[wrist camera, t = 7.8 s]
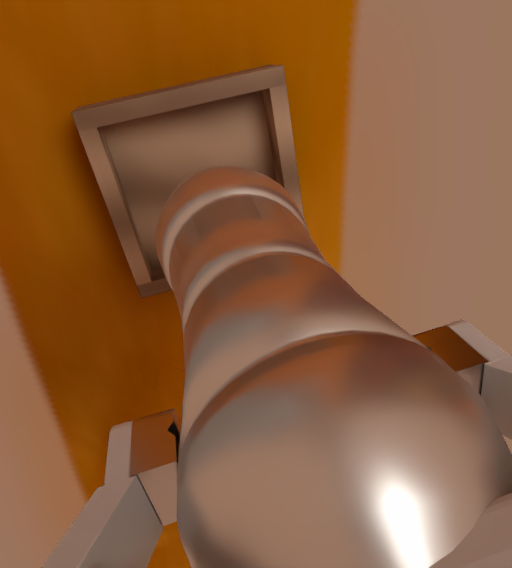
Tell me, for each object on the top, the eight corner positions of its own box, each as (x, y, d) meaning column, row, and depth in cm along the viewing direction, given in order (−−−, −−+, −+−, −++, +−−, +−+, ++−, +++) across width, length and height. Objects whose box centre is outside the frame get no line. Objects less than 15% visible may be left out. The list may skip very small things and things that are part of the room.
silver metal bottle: (218, 302, 23) (438, 1037, 6) (122, 217, 19) (5, 1405, 3) (311, 225, 22) (888, 847, 5) (227, 120, 18) (1201, 1010, 2)
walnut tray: (78, 107, 25) (71, 112, 23) (269, 64, 27) (283, 65, 24) (141, 278, 31) (141, 298, 29) (295, 237, 32) (308, 252, 30)
